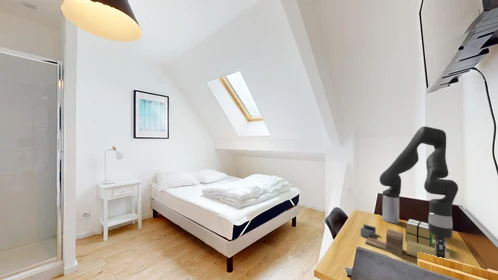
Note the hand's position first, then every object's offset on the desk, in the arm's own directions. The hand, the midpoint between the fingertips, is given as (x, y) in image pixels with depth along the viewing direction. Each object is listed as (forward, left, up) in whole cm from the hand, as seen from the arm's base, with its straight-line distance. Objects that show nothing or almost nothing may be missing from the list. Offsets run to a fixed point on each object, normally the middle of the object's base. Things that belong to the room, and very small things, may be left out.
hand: (439, 262), depth 84 cm
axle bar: (0, -4, 0) cm, 4 cm away
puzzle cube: (-20, -7, -1) cm, 21 cm away
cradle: (-9, -29, -1) cm, 30 cm away
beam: (0, -21, -1) cm, 21 cm away
